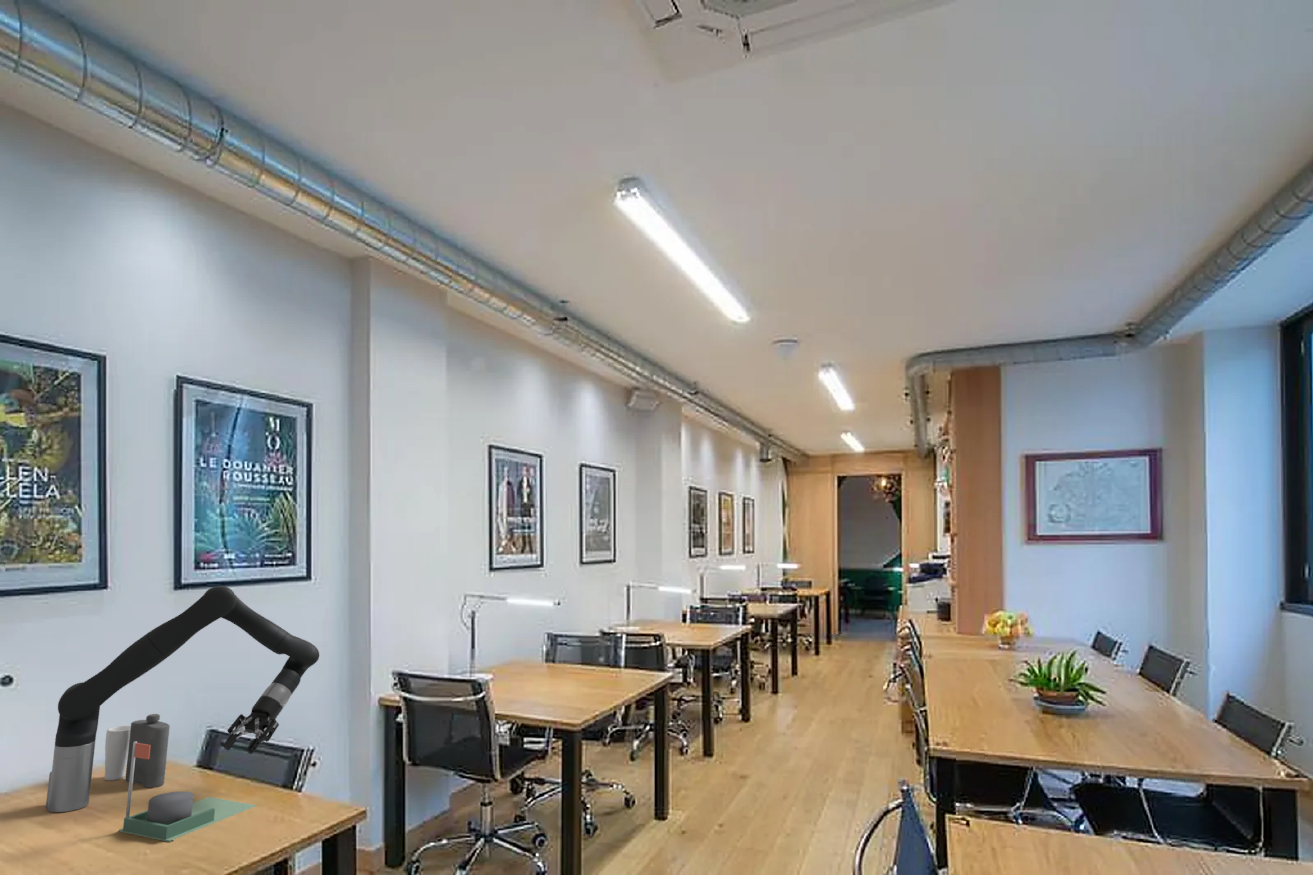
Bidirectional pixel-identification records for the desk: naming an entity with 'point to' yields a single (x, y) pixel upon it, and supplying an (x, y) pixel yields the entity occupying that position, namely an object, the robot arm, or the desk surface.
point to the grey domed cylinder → (170, 807)
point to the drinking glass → (116, 752)
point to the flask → (157, 737)
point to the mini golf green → (201, 817)
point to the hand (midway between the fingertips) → (237, 750)
